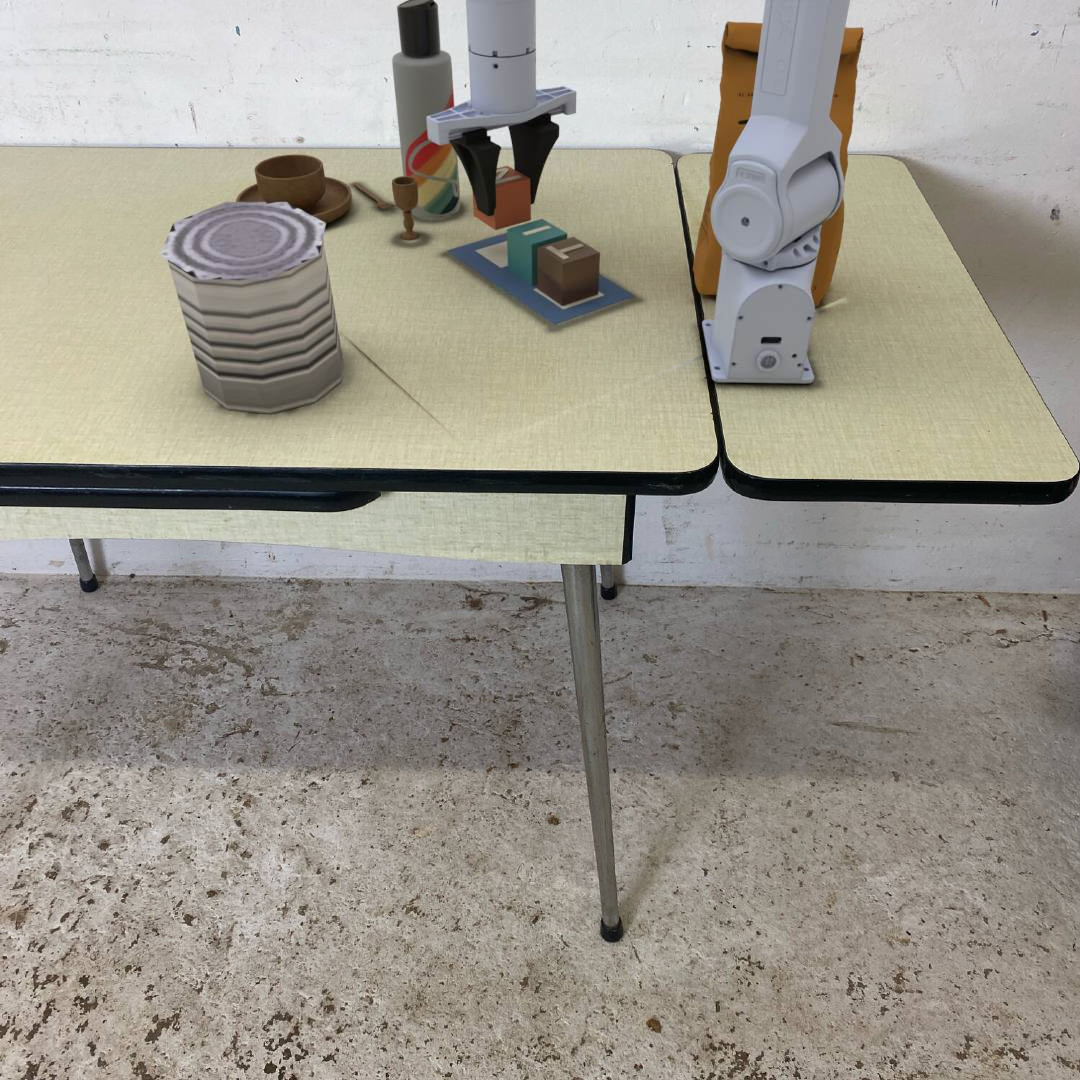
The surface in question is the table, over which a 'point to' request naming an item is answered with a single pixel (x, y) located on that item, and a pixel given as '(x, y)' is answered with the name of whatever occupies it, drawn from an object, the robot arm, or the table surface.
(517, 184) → the orange letter cube
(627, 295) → the word mat
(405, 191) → the place setting
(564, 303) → the brown letter t cube
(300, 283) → the can
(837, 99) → the coffee package
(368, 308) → the table surface
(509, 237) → the tile
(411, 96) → the lotion bottle
